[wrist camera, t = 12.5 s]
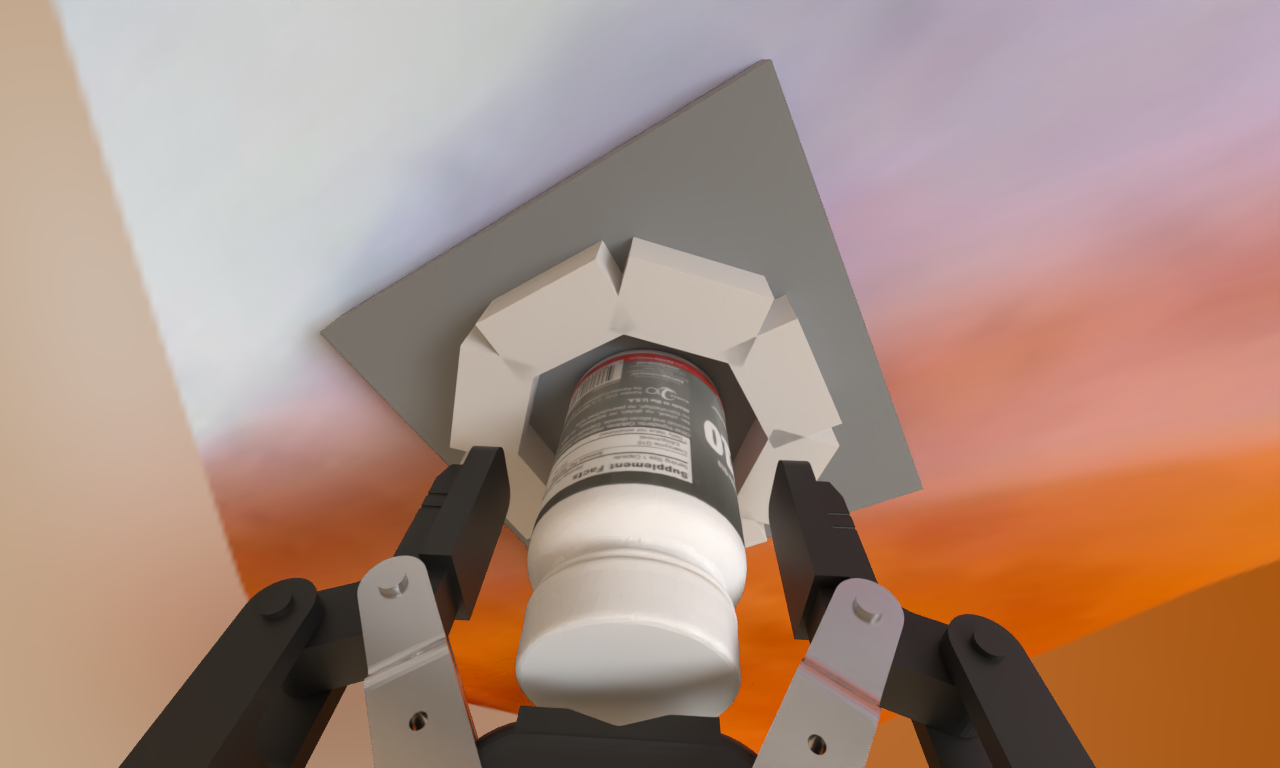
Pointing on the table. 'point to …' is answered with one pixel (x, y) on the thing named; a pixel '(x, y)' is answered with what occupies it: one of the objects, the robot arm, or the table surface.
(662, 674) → the pill bottle
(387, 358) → the socket board
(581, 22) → the table surface
